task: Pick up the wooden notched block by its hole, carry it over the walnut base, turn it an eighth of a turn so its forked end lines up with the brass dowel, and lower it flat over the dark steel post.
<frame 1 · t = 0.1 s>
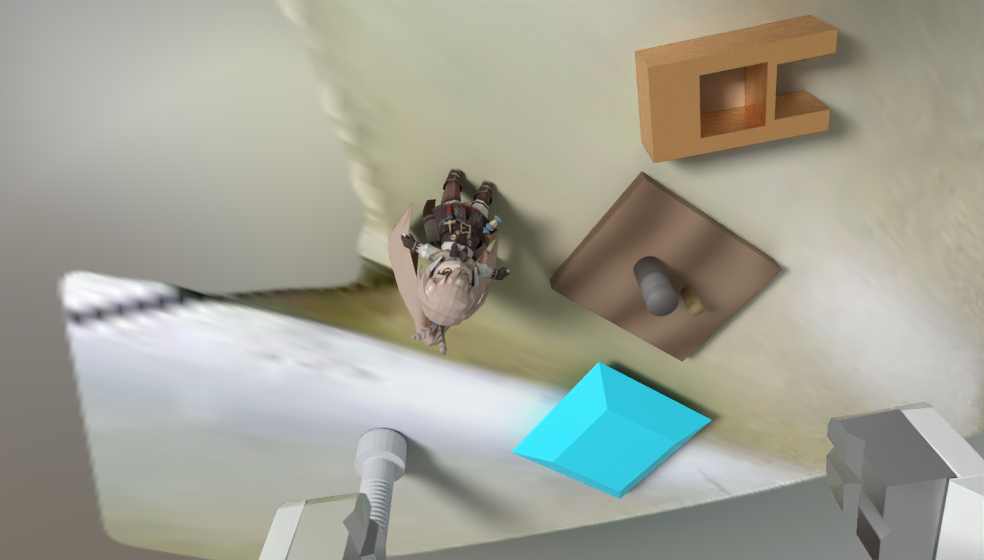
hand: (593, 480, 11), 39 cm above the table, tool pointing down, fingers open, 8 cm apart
toy: (453, 218, 53), on the table
wooden notched block: (714, 83, 47), on the table
bolt: (383, 442, 67), on the table
prism: (606, 419, 66), on the table
flange base: (644, 258, 55), on the table
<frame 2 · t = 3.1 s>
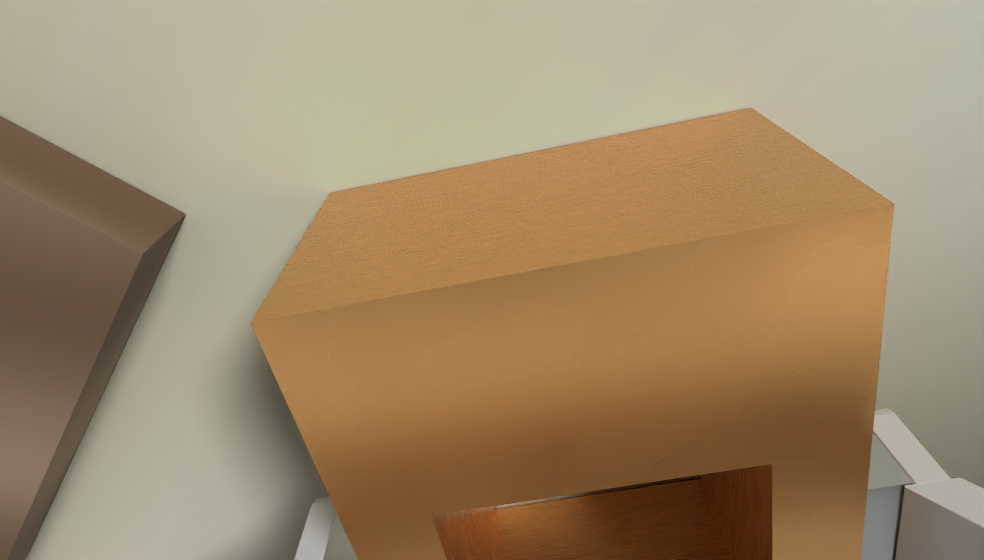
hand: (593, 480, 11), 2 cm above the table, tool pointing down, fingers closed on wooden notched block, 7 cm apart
wooden notched block: (582, 415, 13), on the table, touching gripper
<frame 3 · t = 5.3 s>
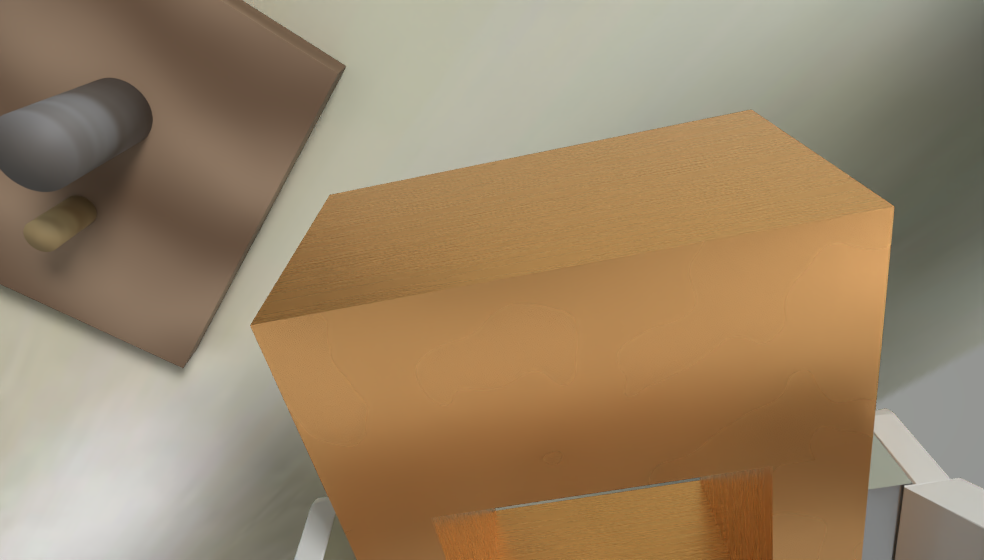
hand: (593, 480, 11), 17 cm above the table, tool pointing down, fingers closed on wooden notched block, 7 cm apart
wooden notched block: (582, 417, 13), point 15 cm above the table, touching gripper
flange base: (137, 102, 25), on the table
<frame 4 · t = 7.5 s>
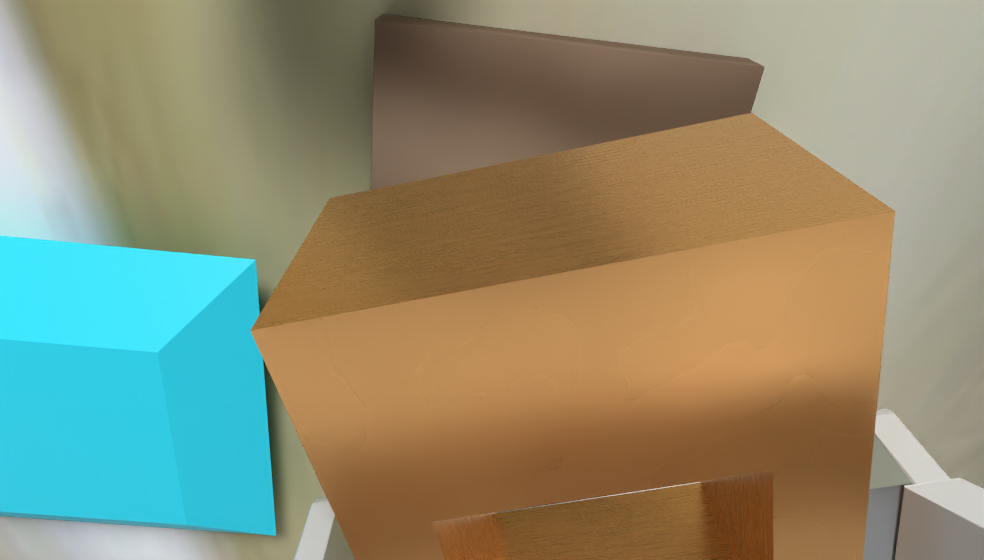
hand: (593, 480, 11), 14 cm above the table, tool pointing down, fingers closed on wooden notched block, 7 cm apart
wooden notched block: (582, 420, 13), point 12 cm above the table, touching gripper
prism: (116, 366, 28), on the table
flange base: (542, 195, 24), on the table
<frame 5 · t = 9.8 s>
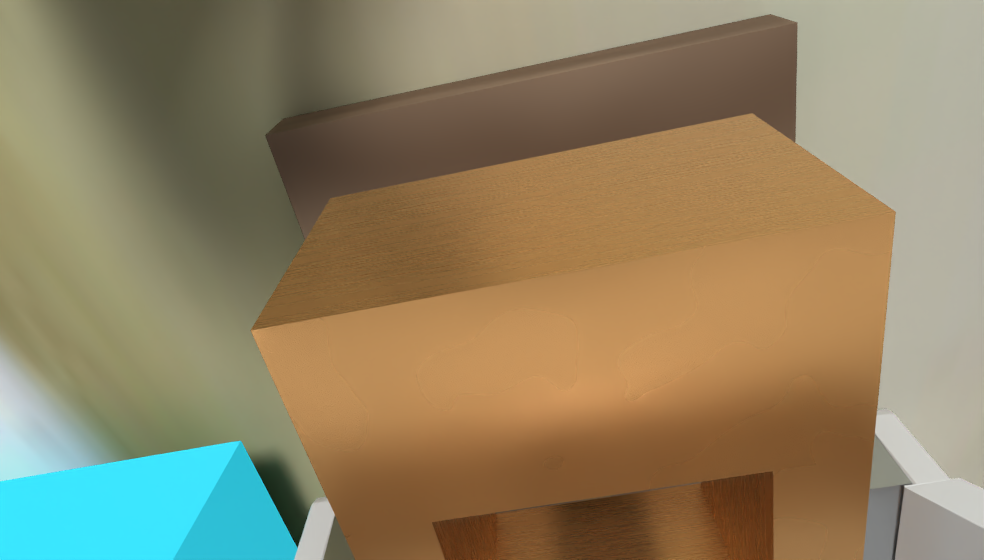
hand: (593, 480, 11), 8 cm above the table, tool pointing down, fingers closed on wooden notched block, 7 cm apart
wooden notched block: (582, 420, 13), point 6 cm above the table, touching gripper
flange base: (553, 265, 18), on the table
when the fingers open (4 cm above the table, at t = 11.7 s): wooden notched block stays where it is, resting on flange base.
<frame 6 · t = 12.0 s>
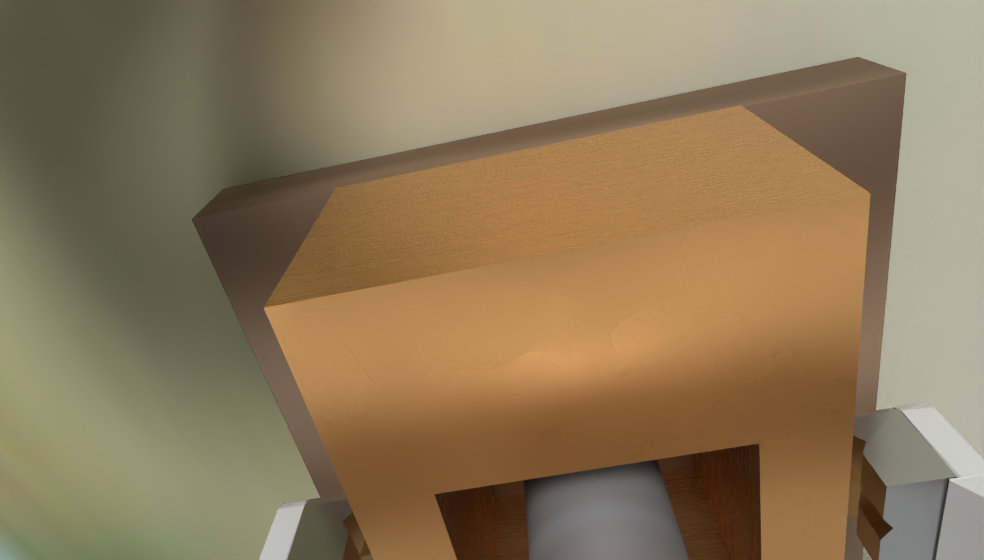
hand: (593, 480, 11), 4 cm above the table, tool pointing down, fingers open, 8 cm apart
wooden notched block: (579, 404, 13), point 1 cm above the table, touching flange base
flange base: (569, 363, 15), on the table
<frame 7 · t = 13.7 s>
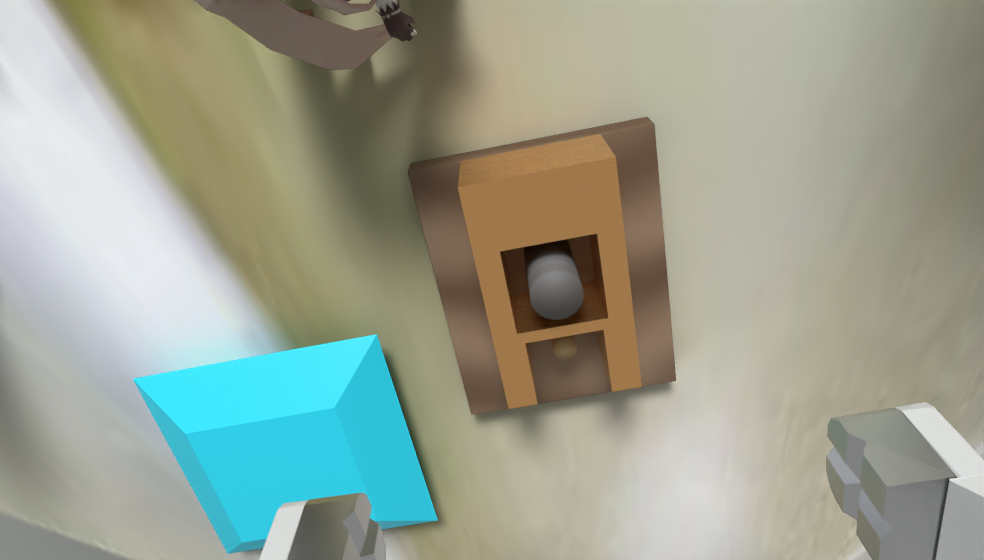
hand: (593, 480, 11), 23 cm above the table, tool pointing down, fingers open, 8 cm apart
wooden notched block: (547, 250, 33), point 1 cm above the table, touching flange base
prism: (304, 429, 41), on the table
flange base: (544, 240, 35), on the table
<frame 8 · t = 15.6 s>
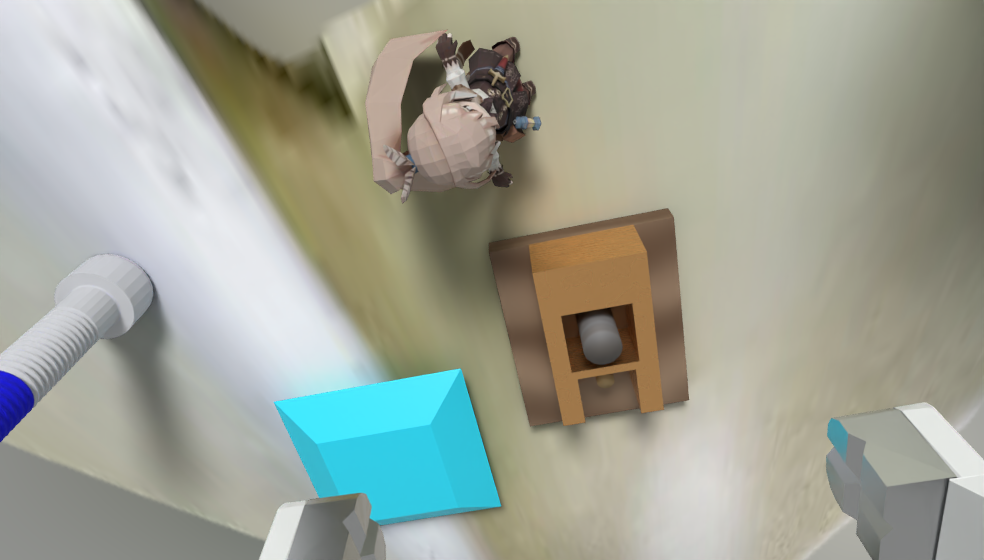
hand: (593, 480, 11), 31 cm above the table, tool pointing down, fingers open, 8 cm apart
toy: (459, 92, 39), on the table
wooden notched block: (592, 306, 44), point 1 cm above the table, touching flange base
bolt: (120, 282, 45), on the table
prism: (397, 436, 52), on the table
flange base: (588, 296, 45), on the table
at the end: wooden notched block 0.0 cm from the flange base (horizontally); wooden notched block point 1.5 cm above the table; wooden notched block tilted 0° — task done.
